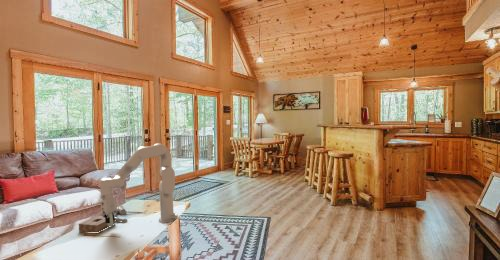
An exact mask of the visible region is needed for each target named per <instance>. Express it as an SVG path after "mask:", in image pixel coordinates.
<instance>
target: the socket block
mask: <svg viewBox="0 0 500 260" xmlns="http://www.w3.org/2000/svg"><path fill="white" fill-rule="evenodd" d="M115 217H116V216H115ZM115 217H114V218H115ZM114 223H115V224H116V221H115V220H114V221H113V224H114ZM107 227H108V224H107V223H106V222H105V218H104V217H103V216H101V215H95V216H93V217H91V218H88V219H86V220H84V221H82V222H79V223H78V232H79V233H82V234H84V232H99V231H101V230H103V229H105V228H107Z"/></svg>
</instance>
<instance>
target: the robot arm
mask: <svg viewBox="0 0 500 260" xmlns="http://www.w3.org/2000/svg"><path fill="white" fill-rule="evenodd" d="M155 157H156V158H157V157H159V175H160V176H161V180H160V181H159V184H158V192H159V207H160V209H159V210H160V217H159V219H158V222H160V223H161V224H163V223H164V224H165V223H166V224H167V223H171V222H175V221H176V219H179V215H178V214H177V215H176V214H175V213H176V212H174V194H173V193H174V191H175V189H176V188H175V187H176V173H175V169H174V168H173V166H172V155H171V152H170V150H169V148H168V147H167V146H166V145H164V144H162V143H161V142H157V143H155V144H153V145H150V146H149V145H148V146H143V145H142V146H138V147H137V149H136V150H135V151H134V152H133V153H132V154H131V156H130V157H129V158H128V160H127V161H126V162H125V163H124V164H123V166H121V168H120V169H119V170H118V171H117V172H116V174H115V175H114V176H113V178H111V177H105V178H101V179H100V180H99V186H100V196H101V197H100V199H101V200H100V212H101V213H100V216H103V217H104V218H105V222H106V223H110V218H109V213H111V212H112V215H113V221H114V220H115V218H114V216H115V215H116V213H115V211H116V210H117V207H118V204H117V199H116V197H115V195H114V189H119V188H123V186H125V182H126V181H125V180H126V179H127V178H128V177H129V175H130V174H131V173H133V172H134V171H136V170H137V169H138V168H139V167H140V165H142V163H143V162H144V160H145V159H151V158H155ZM106 214H107V215H106Z"/></svg>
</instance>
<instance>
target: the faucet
mask: <svg viewBox="0 0 500 260" xmlns="http://www.w3.org/2000/svg"><path fill="white" fill-rule="evenodd" d="M118 213H119V215H121V216H122V215H126V214H127V213H129V214H130V213H131V214H142V215H145V214H146V212H145V211H127V210H126V209H125V207H124V206H123V204H120V205H117V210H116V211H115V214H118ZM114 217H115V220H116V221H115V222H118V221H122V222H121V223H127V222H128V219H127V218H120V217H116V216H115V215H114ZM126 221H127V222H126Z"/></svg>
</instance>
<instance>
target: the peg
mask: <svg viewBox="0 0 500 260" xmlns="http://www.w3.org/2000/svg"><path fill="white" fill-rule="evenodd" d="M106 215H107V214H106ZM109 218H110V223H107V224H108V227H109V226H112V227H113V215H112V212H111V213H109Z"/></svg>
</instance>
